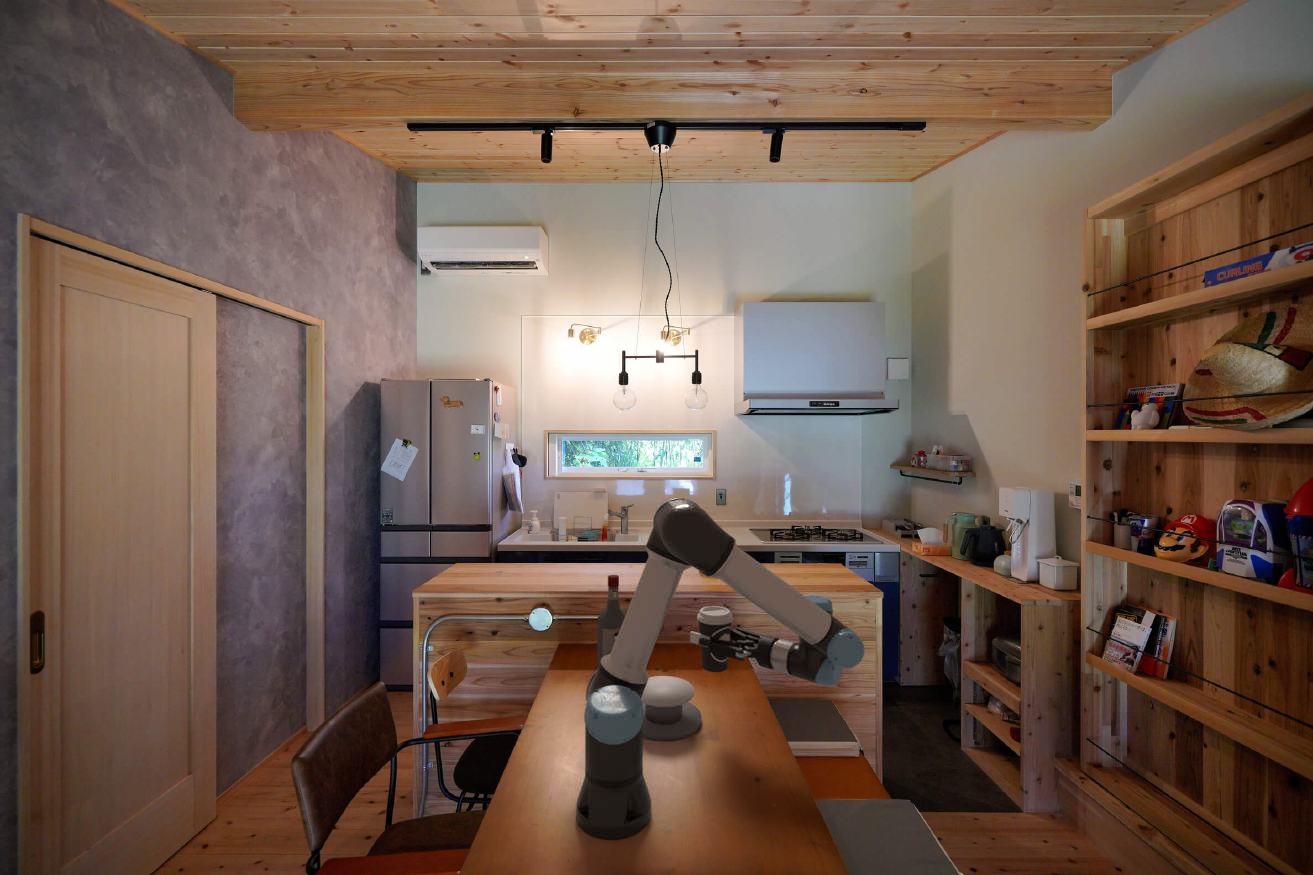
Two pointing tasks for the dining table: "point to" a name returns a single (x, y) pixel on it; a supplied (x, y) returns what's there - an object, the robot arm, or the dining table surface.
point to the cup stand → (669, 709)
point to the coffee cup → (714, 634)
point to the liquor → (609, 620)
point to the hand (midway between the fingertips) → (699, 632)
